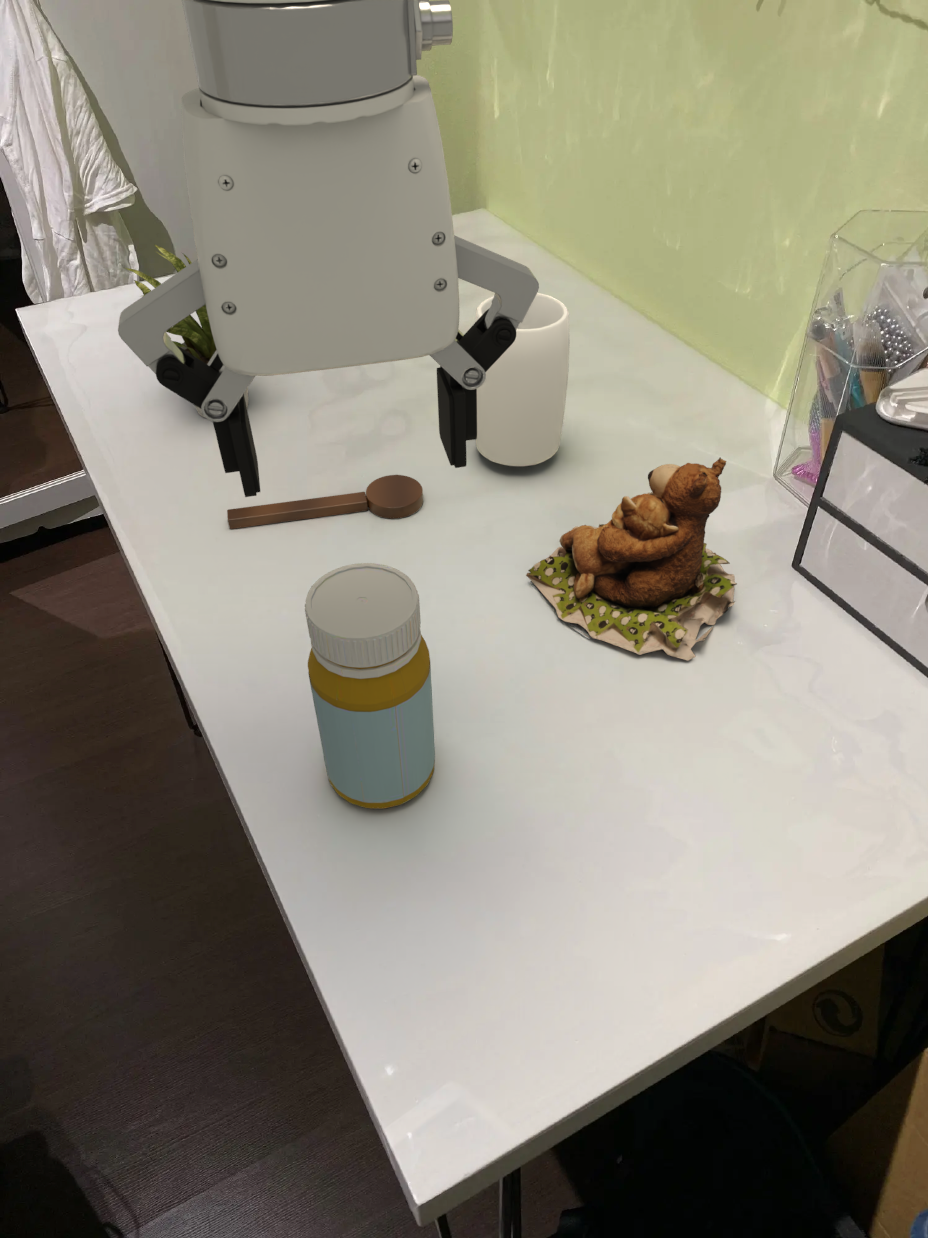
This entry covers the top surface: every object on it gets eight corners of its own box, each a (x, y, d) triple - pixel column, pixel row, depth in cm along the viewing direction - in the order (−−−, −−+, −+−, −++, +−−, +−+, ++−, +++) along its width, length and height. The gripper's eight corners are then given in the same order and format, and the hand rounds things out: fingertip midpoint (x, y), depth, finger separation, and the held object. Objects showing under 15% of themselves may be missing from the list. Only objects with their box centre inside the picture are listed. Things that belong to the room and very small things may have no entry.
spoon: (230, 541, 77) (227, 530, 76) (228, 507, 80) (226, 496, 79) (427, 514, 79) (427, 503, 78) (417, 482, 83) (417, 471, 82)
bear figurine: (597, 515, 79) (611, 388, 71) (758, 583, 72) (796, 452, 64) (505, 598, 71) (509, 467, 63) (677, 684, 64) (707, 550, 56)
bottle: (456, 780, 58) (451, 609, 48) (361, 833, 56) (335, 664, 45) (399, 713, 63) (384, 542, 52) (309, 759, 60) (274, 588, 50)
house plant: (283, 358, 100) (259, 204, 89) (319, 418, 91) (297, 255, 80) (152, 385, 96) (109, 227, 85) (176, 450, 87) (131, 283, 76)
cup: (509, 420, 90) (513, 280, 81) (579, 450, 86) (592, 306, 77) (454, 457, 86) (451, 313, 76) (525, 490, 82) (532, 343, 72)
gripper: (517, 11, 35) (510, 403, 47) (54, 42, 33) (169, 447, 45) (575, 55, 30) (551, 485, 42) (27, 96, 27) (166, 540, 39)
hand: (353, 465), depth 43 cm, fingers open, 9 cm apart
